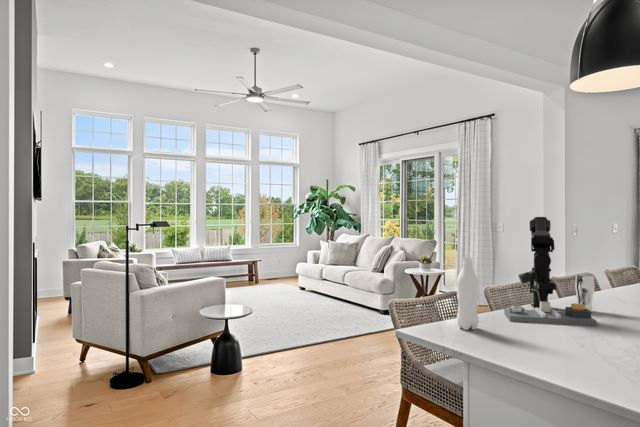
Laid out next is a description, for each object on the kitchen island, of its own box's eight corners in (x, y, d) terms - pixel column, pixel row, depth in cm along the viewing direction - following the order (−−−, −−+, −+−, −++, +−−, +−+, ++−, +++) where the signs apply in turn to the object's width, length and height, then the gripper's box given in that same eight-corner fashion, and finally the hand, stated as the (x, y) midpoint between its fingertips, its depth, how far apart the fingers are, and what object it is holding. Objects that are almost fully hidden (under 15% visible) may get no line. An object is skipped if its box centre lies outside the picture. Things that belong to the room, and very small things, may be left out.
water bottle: (479, 331, 150) (479, 259, 150) (458, 330, 151) (457, 258, 151) (476, 326, 157) (476, 256, 157) (455, 325, 158) (455, 256, 158)
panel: (504, 313, 177) (504, 302, 177) (583, 317, 170) (583, 306, 170) (510, 321, 164) (510, 309, 164) (596, 326, 157) (596, 313, 157)
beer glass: (589, 309, 185) (589, 274, 185) (597, 312, 178) (597, 276, 178) (571, 308, 186) (571, 273, 186) (580, 312, 179) (580, 276, 179)
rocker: (511, 308, 172) (511, 306, 173) (519, 309, 172) (519, 306, 172) (513, 308, 168) (513, 305, 168) (522, 309, 167) (522, 306, 167)
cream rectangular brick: (539, 310, 172) (539, 301, 172) (548, 310, 172) (548, 301, 172) (541, 311, 170) (541, 302, 170) (550, 312, 169) (550, 302, 169)
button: (569, 309, 167) (569, 303, 167) (582, 310, 166) (582, 303, 166) (573, 311, 163) (573, 305, 163) (586, 312, 162) (586, 306, 162)
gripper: (515, 262, 187) (515, 299, 186) (525, 267, 168) (525, 307, 168) (544, 263, 184) (544, 300, 184) (556, 268, 166) (556, 309, 166)
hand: (541, 304), depth 175 cm, fingers closed
